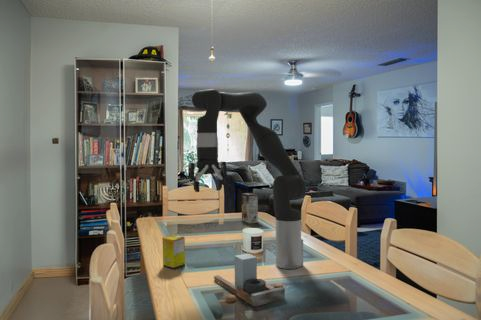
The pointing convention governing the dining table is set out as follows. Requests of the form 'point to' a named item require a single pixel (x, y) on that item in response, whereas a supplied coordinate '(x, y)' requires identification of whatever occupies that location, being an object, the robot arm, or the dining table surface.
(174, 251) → the supplement box
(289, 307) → the dining table surface
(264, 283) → the rubber ring
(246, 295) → the guide channel
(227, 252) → the dining table surface
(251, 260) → the gray block
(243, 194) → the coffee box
